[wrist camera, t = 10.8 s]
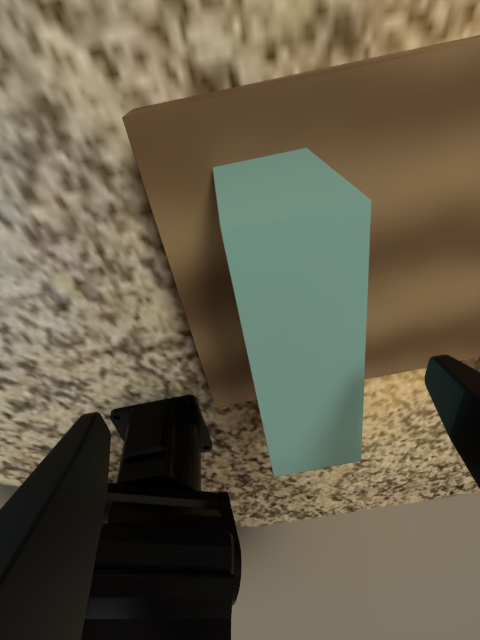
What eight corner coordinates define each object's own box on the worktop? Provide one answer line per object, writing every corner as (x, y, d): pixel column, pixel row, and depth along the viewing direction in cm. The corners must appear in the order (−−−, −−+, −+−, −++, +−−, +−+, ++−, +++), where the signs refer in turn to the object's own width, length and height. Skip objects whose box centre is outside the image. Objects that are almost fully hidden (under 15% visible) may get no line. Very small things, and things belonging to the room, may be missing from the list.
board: (462, 327, 26) (489, 355, 23) (213, 375, 26) (215, 407, 24) (534, 23, 16) (595, 16, 13) (133, 108, 16) (121, 117, 14)
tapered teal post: (319, 358, 22) (360, 461, 17) (254, 370, 22) (273, 477, 17) (306, 147, 15) (371, 200, 9) (212, 167, 15) (220, 230, 10)
